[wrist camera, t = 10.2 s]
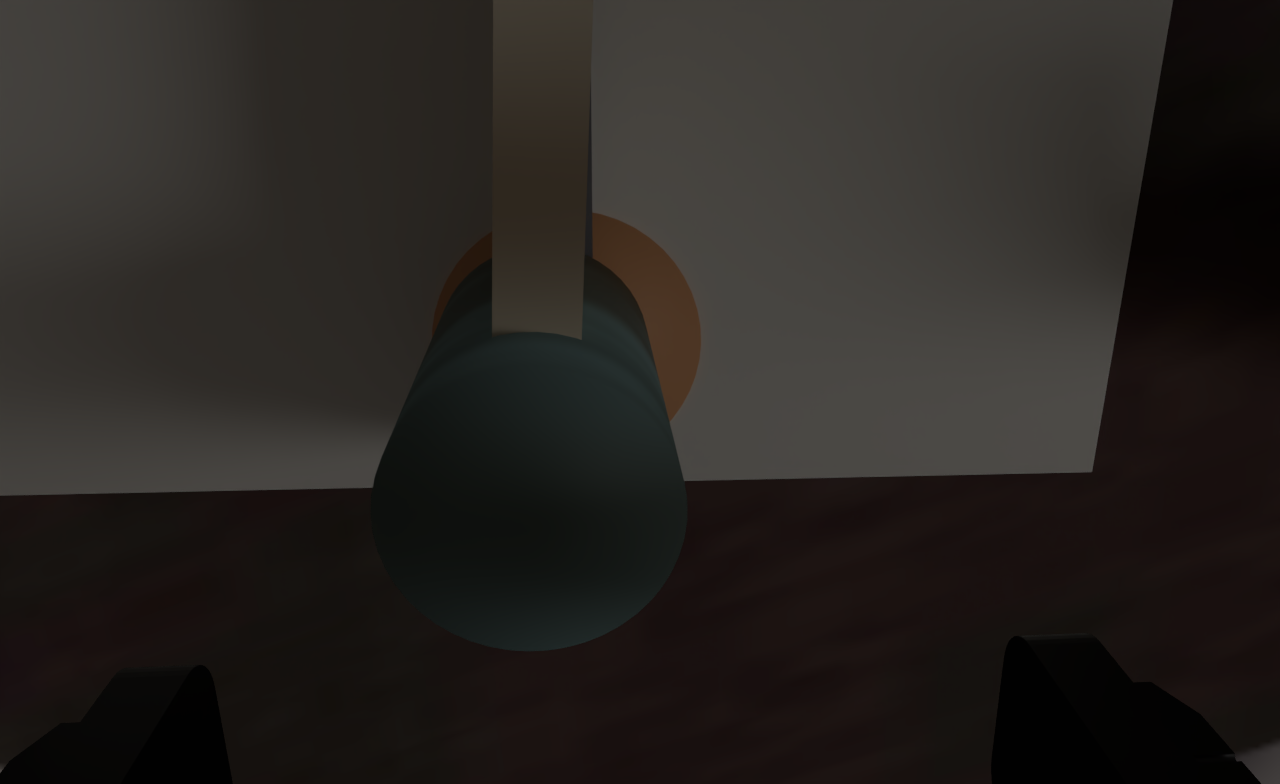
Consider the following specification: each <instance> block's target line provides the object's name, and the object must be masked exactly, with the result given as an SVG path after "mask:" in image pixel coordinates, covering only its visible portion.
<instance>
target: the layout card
mask: <svg viewBox="0 0 1280 784" xmlns="http://www.w3.org/2000/svg"><path fill="white" fill-rule="evenodd" d="M1172 3H1173V0H593V24H592V53H591V83H590V112H589V141H588V170H587V199H586V228H585V255H587V256H589V257H591V258H593V259H595V260H597V261H599V262H600V263H602V264H603V265H604V266H606V267H607V268H609V269H610V270H611V271H612V272H613V273H615V274H616V275H617V276H618V277H619V278H620V279H621V280H622V281H623V283H624V284H625V285H626V286H627V287H628V289H629V290H630V291H631V293H632V295H633V296H634V298H635V299H636V301H637V303H638V305H639V307H640V310H641V312H642V314H643V318H644V321H645V325H646V328H647V332H648V336H649V341H650V345H651V349H652V353H653V357H654V361H655V365H656V369H657V373H658V377H659V381H660V385H661V389H662V393H663V397H664V401H665V406H666V410H667V414H668V418H669V422H670V426H671V430H672V434H673V438H674V442H675V446H676V450H677V454H678V458H679V462H680V466H681V471H682V475H683V479H684V481H700V480H746V479H793V478H839V477H886V476H932V475H979V474H1025V473H1072V472H1092V468H1093V463H1094V457H1095V451H1096V445H1097V439H1098V433H1099V428H1100V422H1101V416H1102V410H1103V404H1104V399H1105V393H1106V387H1107V381H1108V375H1109V370H1110V364H1111V358H1112V352H1113V346H1114V340H1115V335H1116V329H1117V323H1118V317H1119V311H1120V306H1121V300H1122V294H1123V288H1124V282H1125V277H1126V271H1127V265H1128V259H1129V253H1130V247H1131V242H1132V236H1133V230H1134V224H1135V218H1136V213H1137V207H1138V201H1139V195H1140V189H1141V184H1142V178H1143V172H1144V166H1145V160H1146V155H1147V149H1148V143H1149V137H1150V131H1151V125H1152V120H1153V114H1154V108H1155V102H1156V96H1157V91H1158V85H1159V79H1160V73H1161V67H1162V62H1163V56H1164V50H1165V44H1166V38H1167V32H1168V27H1169V21H1170V15H1171V9H1172ZM492 188H493V0H0V496H2V495H49V494H95V493H142V492H188V491H235V490H281V489H328V488H373V484H374V478H375V475H376V472H377V469H378V466H379V463H380V460H381V457H382V455H383V453H384V450H385V448H386V445H387V443H388V441H389V438H390V436H391V434H392V431H393V429H394V427H395V424H396V422H397V420H398V417H399V415H400V413H401V410H402V408H403V405H404V403H405V401H406V398H407V396H408V394H409V391H410V389H411V387H412V384H413V382H414V380H415V377H416V375H417V372H418V370H419V368H420V365H421V363H422V361H423V358H424V356H425V354H426V351H427V349H428V347H429V344H430V342H431V339H432V337H433V335H434V332H435V330H436V328H437V325H438V323H439V321H440V318H441V316H442V314H443V311H444V309H445V307H446V305H447V303H448V301H449V299H450V297H451V295H452V294H453V292H454V291H455V289H456V288H457V286H458V285H459V284H460V283H461V282H462V281H463V279H464V278H465V277H466V276H467V275H468V274H469V273H470V272H472V271H473V270H474V269H475V268H477V267H478V266H479V265H481V264H482V263H484V262H485V261H487V260H489V259H490V258H492Z"/></svg>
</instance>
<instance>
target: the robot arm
mask: <svg viewBox="0 0 1280 784" xmlns="http://www.w3.org/2000/svg"><path fill="white" fill-rule="evenodd" d="M991 775H992V784H1261V783H1260V782H1259V781H1258V779H1257V778H1256V777H1255V776H1254V775H1253V774H1252V773H1251V771H1250V770H1249V769H1248V768H1247V767H1246V766H1245V765H1244V764H1243V762H1242V761H1239V762H1237V761H1236V759H1235V753H1234V752H1233V751H1232V750H1231V749H1230V748H1229V746H1228V745H1227V744H1226V743H1225V742H1224V741H1223V740H1222V738H1221V737H1220V736H1219V735H1218V734H1217V733H1216V732H1215V730H1214V729H1213V728H1212V727H1211V726H1210V725H1209V724H1208V722H1207V721H1206V720H1205V719H1204V718H1203V717H1202V716H1201V714H1199V713H1198V712H1196V711H1195V710H1193V709H1191V708H1190V707H1188V706H1187V705H1185V704H1184V703H1182V702H1181V701H1179V700H1178V699H1176V698H1175V697H1173V696H1172V695H1170V694H1168V693H1167V692H1165V691H1164V690H1162V689H1161V688H1159V687H1158V686H1156V685H1155V684H1153V683H1152V682H1137V683H1133V682H1132V681H1131V679H1130V678H1129V677H1128V676H1127V674H1126V673H1125V672H1124V671H1123V670H1122V668H1121V667H1120V666H1119V665H1118V663H1117V662H1116V661H1115V660H1114V658H1113V657H1112V656H1111V655H1110V654H1109V652H1108V651H1107V650H1106V649H1105V647H1104V646H1103V645H1102V644H1101V643H1100V641H1099V640H1098V639H1097V638H1096V637H1094V636H1093V635H1091V634H1088V633H1082V634H1056V635H1030V636H1014V637H1013V638H1011V640H1010V641H1009V643H1008V645H1007V647H1006V651H1005V655H1004V662H1003V670H1002V678H1001V686H1000V695H999V703H998V711H997V719H996V727H995V735H994V744H993V752H992V762H991ZM0 784H233V783H232V777H231V772H230V766H229V761H228V756H227V750H226V745H225V739H224V734H223V728H222V723H221V718H220V712H219V707H218V701H217V696H216V691H215V686H214V681H213V678H212V676H211V674H210V672H209V670H208V669H207V668H206V667H205V666H203V665H190V666H163V667H137V668H124V669H122V670H120V671H119V672H117V673H116V675H115V676H114V677H113V678H112V679H111V681H110V682H109V684H108V685H107V686H106V688H105V689H104V690H103V692H102V693H101V695H100V696H99V697H98V699H97V700H96V701H95V703H94V704H93V706H92V707H91V708H90V710H89V711H88V712H87V714H86V715H85V716H84V718H83V719H82V721H81V722H79V723H61V724H59V725H58V726H57V727H55V728H54V729H52V730H51V731H50V732H48V733H47V734H46V735H44V736H43V737H42V738H40V739H39V740H37V741H36V742H35V743H33V744H32V745H31V746H29V747H28V748H27V749H25V750H24V751H23V752H21V753H20V754H18V755H17V756H16V757H14V758H13V759H12V760H10V761H9V763H8V764H7V765H6V766H5V768H4V769H3V770H2V772H1V773H0Z"/></svg>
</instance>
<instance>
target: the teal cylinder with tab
mask: <svg viewBox="0 0 1280 784" xmlns="http://www.w3.org/2000/svg"><path fill="white" fill-rule="evenodd" d="M592 24H593V0H493V188H492V258H490V259H489V260H487V261H485V262H484V263H482V264H481V265H479V266H478V267H477V268H475V269H474V270H473V271H472V272H470V273H469V274H468V275H467V276H466V277H465V278H464V279H463V281H462V282H461V283H460V284H459V285H458V286H457V288H456V289H455V291H454V292H453V294H452V295H451V297H450V299H449V301H448V303H447V305H446V307H445V309H444V311H443V314H442V316H441V318H440V321H439V323H438V325H437V328H436V330H435V332H434V335H433V337H432V339H431V342H430V344H429V347H428V349H427V351H426V354H425V356H424V358H423V361H422V363H421V365H420V368H419V370H418V372H417V375H416V377H415V380H414V382H413V384H412V387H411V389H410V391H409V394H408V396H407V398H406V401H405V403H404V405H403V408H402V410H401V413H400V415H399V417H398V420H397V422H396V424H395V427H394V429H393V431H392V434H391V436H390V438H389V441H388V443H387V445H386V448H385V450H384V453H383V455H382V457H381V460H380V463H379V466H378V469H377V472H376V475H375V478H374V484H373V489H372V494H371V521H372V529H373V535H374V539H375V543H376V546H377V550H378V553H379V555H380V557H381V560H382V562H383V564H384V567H385V569H386V570H387V572H388V574H389V575H390V577H391V579H392V580H393V582H394V584H395V585H396V586H397V588H398V589H399V590H400V591H401V593H402V594H403V595H404V596H405V598H406V599H407V600H408V601H409V602H410V603H411V604H412V605H413V606H414V607H415V608H417V609H418V610H419V611H420V612H421V613H422V614H423V615H425V616H426V617H428V618H429V619H430V620H432V621H433V622H434V623H436V624H437V625H439V626H441V627H442V628H444V629H446V630H448V631H449V632H451V633H453V634H455V635H458V636H460V637H462V638H465V639H467V640H469V641H472V642H476V643H479V644H483V645H486V646H489V647H495V648H501V649H506V650H518V651H542V650H553V649H559V648H565V647H570V646H573V645H577V644H580V643H584V642H587V641H589V640H592V639H594V638H597V637H599V636H602V635H604V634H606V633H608V632H610V631H611V630H613V629H615V628H617V627H619V626H620V625H622V624H623V623H625V622H626V621H628V620H629V619H630V618H632V617H633V616H634V615H636V614H637V613H638V612H639V611H640V610H641V609H642V608H643V607H645V606H646V605H647V604H648V603H649V602H650V601H651V600H652V598H653V597H654V596H655V595H656V594H657V592H658V591H659V590H660V589H661V588H662V586H663V585H664V583H665V581H666V580H667V578H668V577H669V575H670V574H671V572H672V570H673V568H674V565H675V563H676V561H677V559H678V557H679V554H680V551H681V548H682V544H683V541H684V537H685V530H686V524H687V497H686V490H685V483H684V479H683V475H682V471H681V466H680V462H679V458H678V454H677V450H676V446H675V442H674V438H673V434H672V430H671V426H670V422H669V418H668V414H667V410H666V406H665V401H664V397H663V393H662V389H661V385H660V381H659V377H658V373H657V369H656V365H655V361H654V357H653V353H652V349H651V345H650V341H649V336H648V332H647V328H646V325H645V321H644V318H643V314H642V312H641V310H640V307H639V305H638V303H637V301H636V299H635V298H634V296H633V295H632V293H631V291H630V290H629V289H628V287H627V286H626V285H625V284H624V283H623V281H622V280H621V279H620V278H619V277H618V276H617V275H616V274H615V273H613V272H612V271H611V270H610V269H609V268H607V267H606V266H604V265H603V264H602V263H600V262H599V261H597V260H595V259H593V258H591V257H589V256H587V255H585V228H586V199H587V170H588V141H589V112H590V83H591V53H592Z"/></svg>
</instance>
